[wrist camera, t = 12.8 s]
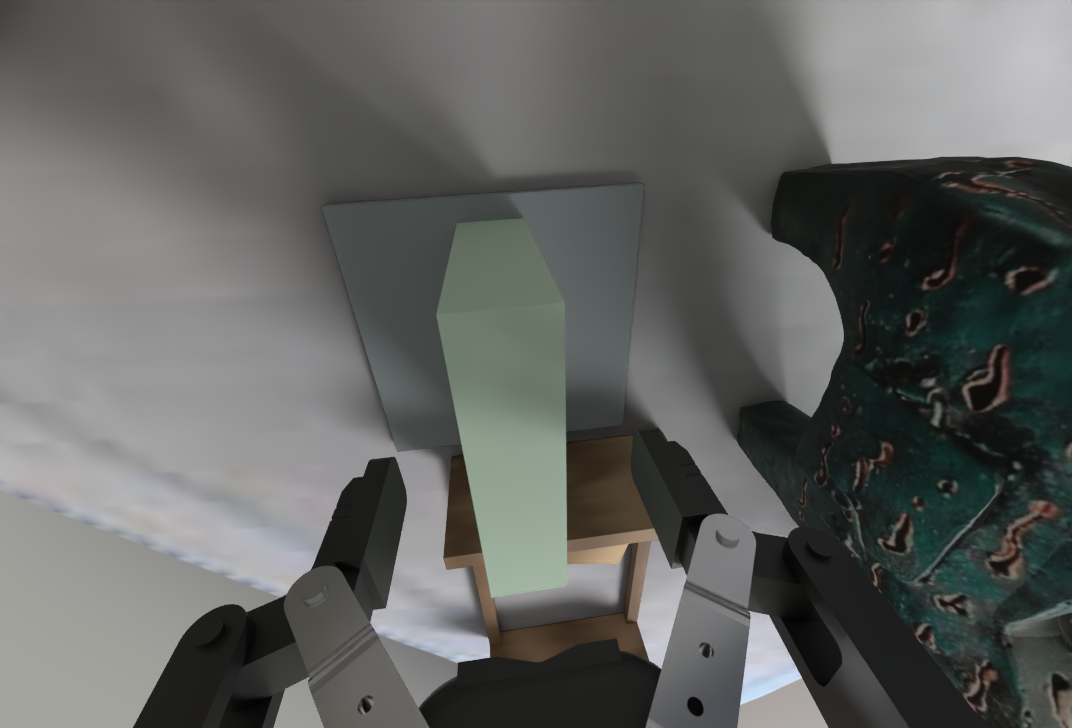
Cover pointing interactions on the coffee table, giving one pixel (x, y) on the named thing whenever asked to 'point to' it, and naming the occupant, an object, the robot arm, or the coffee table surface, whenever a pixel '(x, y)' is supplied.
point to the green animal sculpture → (944, 411)
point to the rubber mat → (418, 275)
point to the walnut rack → (592, 522)
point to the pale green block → (509, 399)
